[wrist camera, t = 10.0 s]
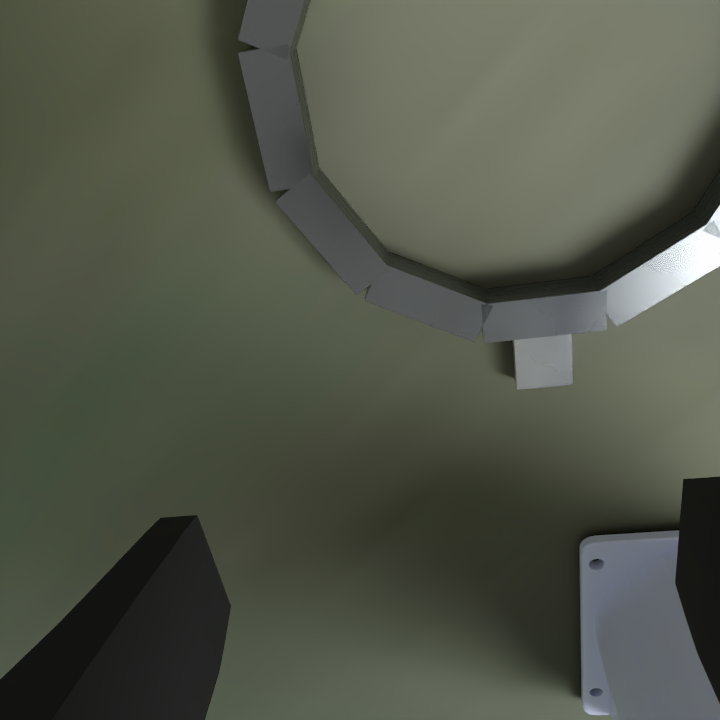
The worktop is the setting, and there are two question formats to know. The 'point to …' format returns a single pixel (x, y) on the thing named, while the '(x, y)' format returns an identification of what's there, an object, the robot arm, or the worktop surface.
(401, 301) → the collar
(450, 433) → the worktop surface
